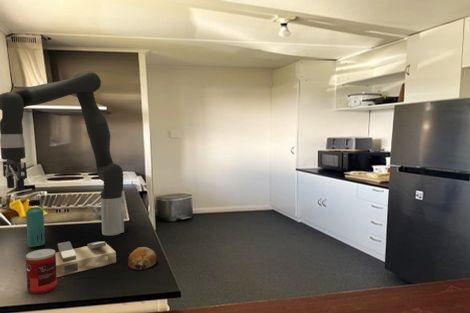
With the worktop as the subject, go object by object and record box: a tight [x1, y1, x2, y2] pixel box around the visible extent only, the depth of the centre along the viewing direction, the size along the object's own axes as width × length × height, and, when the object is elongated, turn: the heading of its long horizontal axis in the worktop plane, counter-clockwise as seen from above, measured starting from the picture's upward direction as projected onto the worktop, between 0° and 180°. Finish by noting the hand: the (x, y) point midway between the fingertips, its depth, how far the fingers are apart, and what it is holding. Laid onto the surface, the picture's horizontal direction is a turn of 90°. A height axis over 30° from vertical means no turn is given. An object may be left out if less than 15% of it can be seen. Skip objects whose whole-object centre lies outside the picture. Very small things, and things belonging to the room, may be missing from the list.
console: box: [55, 243, 117, 278], centre depth 116 cm, size 20×13×4 cm, turn 128°
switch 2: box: [87, 241, 107, 250], centre depth 119 cm, size 4×10×2 cm, turn 38°
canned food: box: [25, 248, 58, 295], centre depth 98 cm, size 8×8×11 cm
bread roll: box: [127, 246, 158, 271], centre depth 116 cm, size 10×10×8 cm
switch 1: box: [57, 240, 76, 261], centre depth 113 cm, size 4×10×2 cm, turn 38°
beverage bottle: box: [25, 199, 46, 247], centre depth 132 cm, size 6×7×20 cm
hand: (15, 189), depth 121 cm, fingers open, 8 cm apart
